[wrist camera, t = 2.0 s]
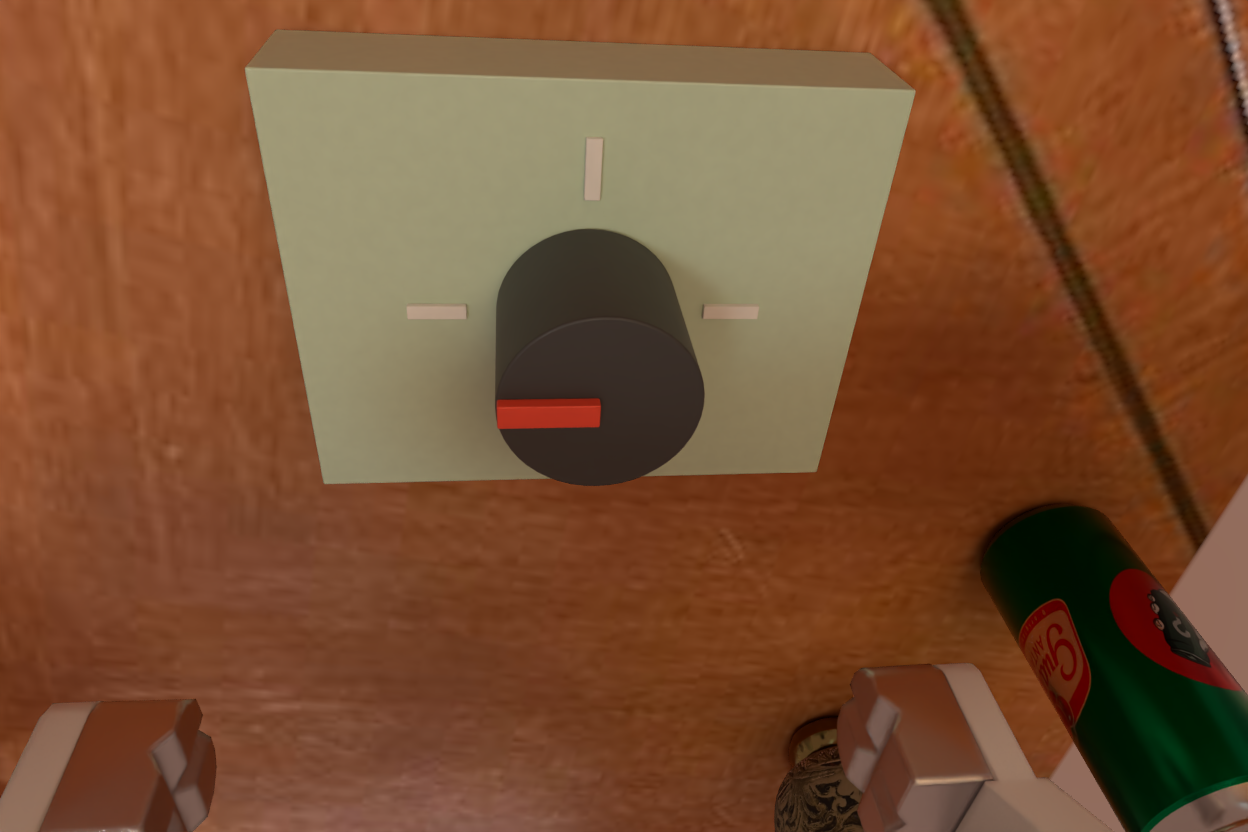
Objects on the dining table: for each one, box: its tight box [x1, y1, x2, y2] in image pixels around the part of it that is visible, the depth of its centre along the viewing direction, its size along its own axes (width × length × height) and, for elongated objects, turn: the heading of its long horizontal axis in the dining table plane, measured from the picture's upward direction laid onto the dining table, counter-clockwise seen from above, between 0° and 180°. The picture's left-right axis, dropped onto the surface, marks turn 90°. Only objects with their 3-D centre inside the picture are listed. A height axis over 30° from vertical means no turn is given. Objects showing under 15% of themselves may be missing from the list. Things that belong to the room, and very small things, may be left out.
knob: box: [495, 229, 705, 486], centre depth 20 cm, size 4×4×4 cm
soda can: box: [980, 504, 1248, 832], centre depth 28 cm, size 5×5×12 cm
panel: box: [245, 30, 915, 484], centre depth 22 cm, size 14×11×3 cm
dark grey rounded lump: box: [774, 718, 864, 832], centre depth 37 cm, size 8×7×8 cm
